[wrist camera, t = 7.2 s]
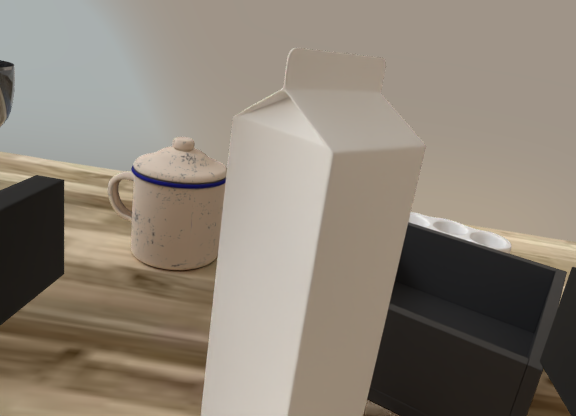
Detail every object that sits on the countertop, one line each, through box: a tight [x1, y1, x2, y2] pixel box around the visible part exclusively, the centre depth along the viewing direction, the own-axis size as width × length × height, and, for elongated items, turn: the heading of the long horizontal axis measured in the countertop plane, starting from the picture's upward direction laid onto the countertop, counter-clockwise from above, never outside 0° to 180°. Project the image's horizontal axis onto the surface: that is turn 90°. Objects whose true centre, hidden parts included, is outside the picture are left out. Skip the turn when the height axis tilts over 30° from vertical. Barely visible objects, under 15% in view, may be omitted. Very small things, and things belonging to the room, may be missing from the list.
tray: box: [367, 222, 567, 416], centre depth 41 cm, size 18×18×7 cm
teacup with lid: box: [108, 137, 227, 270], centre depth 50 cm, size 12×9×12 cm
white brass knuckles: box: [408, 212, 512, 254], centre depth 60 cm, size 3×18×15 cm
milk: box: [201, 48, 426, 416], centre depth 25 cm, size 6×6×22 cm
